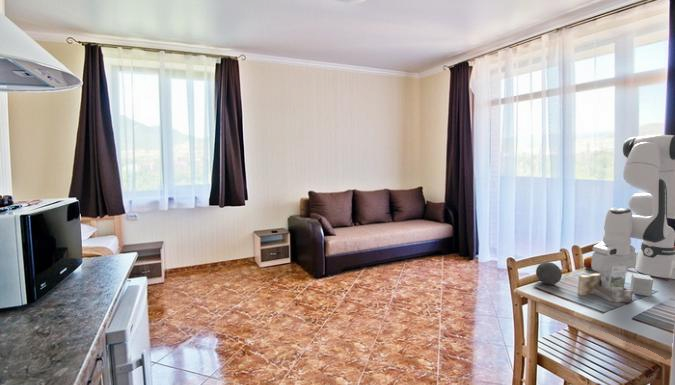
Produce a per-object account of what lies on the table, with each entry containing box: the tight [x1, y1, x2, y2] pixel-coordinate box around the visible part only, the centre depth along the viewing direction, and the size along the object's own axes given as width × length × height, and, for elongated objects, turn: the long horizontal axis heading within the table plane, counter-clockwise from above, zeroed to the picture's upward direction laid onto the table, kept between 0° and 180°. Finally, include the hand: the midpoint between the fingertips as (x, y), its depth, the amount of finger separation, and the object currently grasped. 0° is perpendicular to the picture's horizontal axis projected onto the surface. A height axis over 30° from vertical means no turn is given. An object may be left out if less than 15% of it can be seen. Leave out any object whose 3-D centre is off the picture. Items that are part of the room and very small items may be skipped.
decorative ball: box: [535, 261, 563, 286], centre depth 156 cm, size 10×10×10 cm
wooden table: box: [577, 272, 633, 304], centre depth 143 cm, size 22×11×8 cm, turn 105°
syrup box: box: [600, 264, 627, 292], centre depth 142 cm, size 6×6×14 cm
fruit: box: [583, 256, 594, 271], centre depth 173 cm, size 8×8×8 cm
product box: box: [629, 272, 654, 297], centre depth 146 cm, size 6×6×7 cm
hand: (612, 279), depth 142 cm, fingers open, 8 cm apart
